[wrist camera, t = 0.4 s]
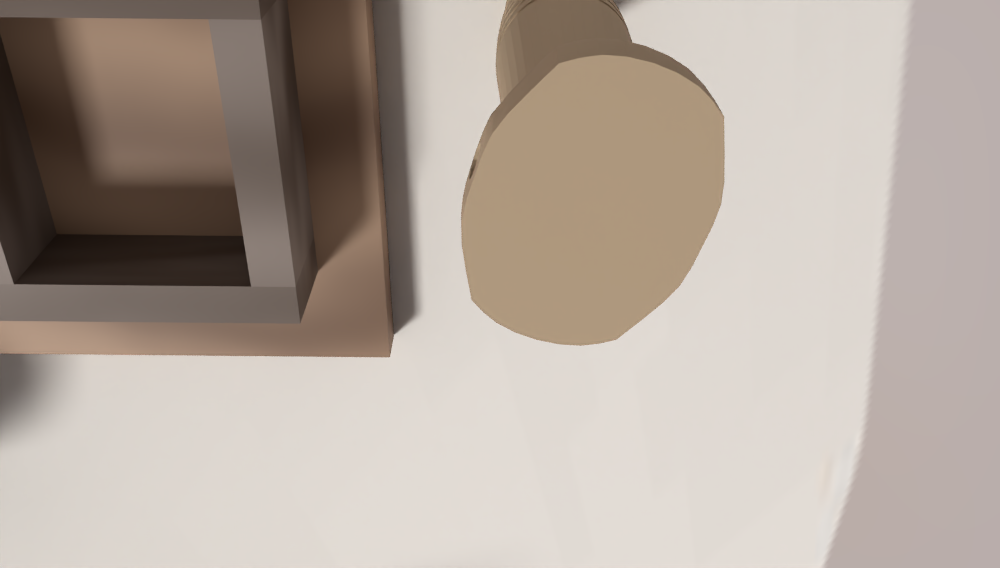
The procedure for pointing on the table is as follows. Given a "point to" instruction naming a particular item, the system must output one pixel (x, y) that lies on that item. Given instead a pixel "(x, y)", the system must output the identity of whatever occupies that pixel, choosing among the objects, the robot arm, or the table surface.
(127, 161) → the holder
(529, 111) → the handle
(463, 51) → the table surface
